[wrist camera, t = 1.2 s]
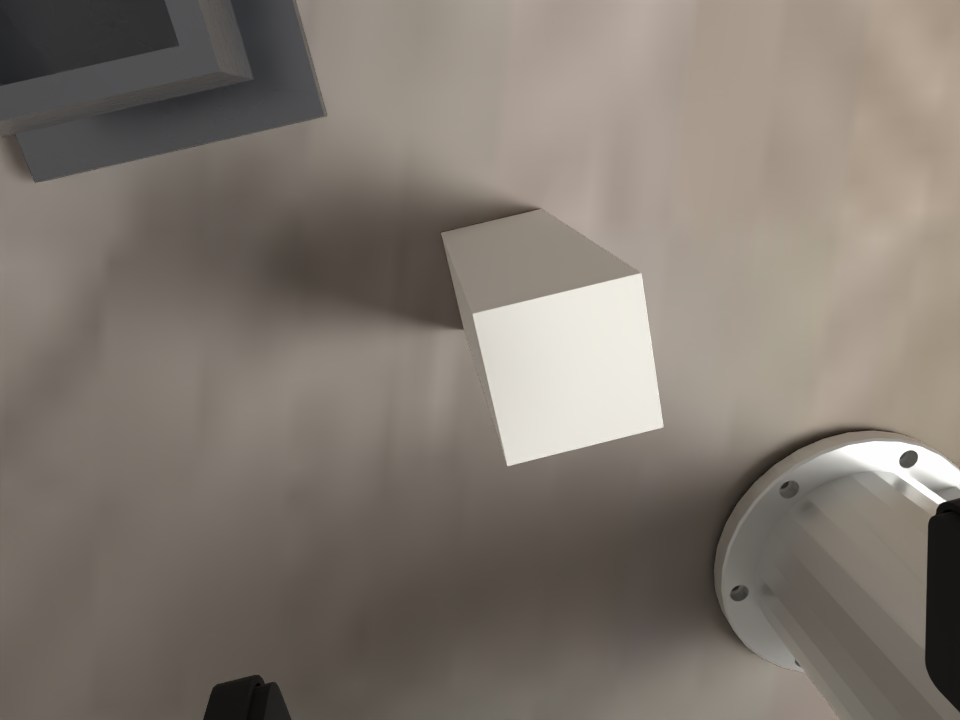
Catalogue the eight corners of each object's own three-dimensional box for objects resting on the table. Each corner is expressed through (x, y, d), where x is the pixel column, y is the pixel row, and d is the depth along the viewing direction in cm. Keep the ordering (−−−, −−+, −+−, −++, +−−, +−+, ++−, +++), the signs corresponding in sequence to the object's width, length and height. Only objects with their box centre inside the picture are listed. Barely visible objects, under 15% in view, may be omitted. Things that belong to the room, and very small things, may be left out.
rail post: (541, 208, 28) (641, 273, 17) (560, 306, 29) (663, 427, 18) (440, 232, 28) (472, 313, 17) (464, 330, 29) (507, 466, 18)
